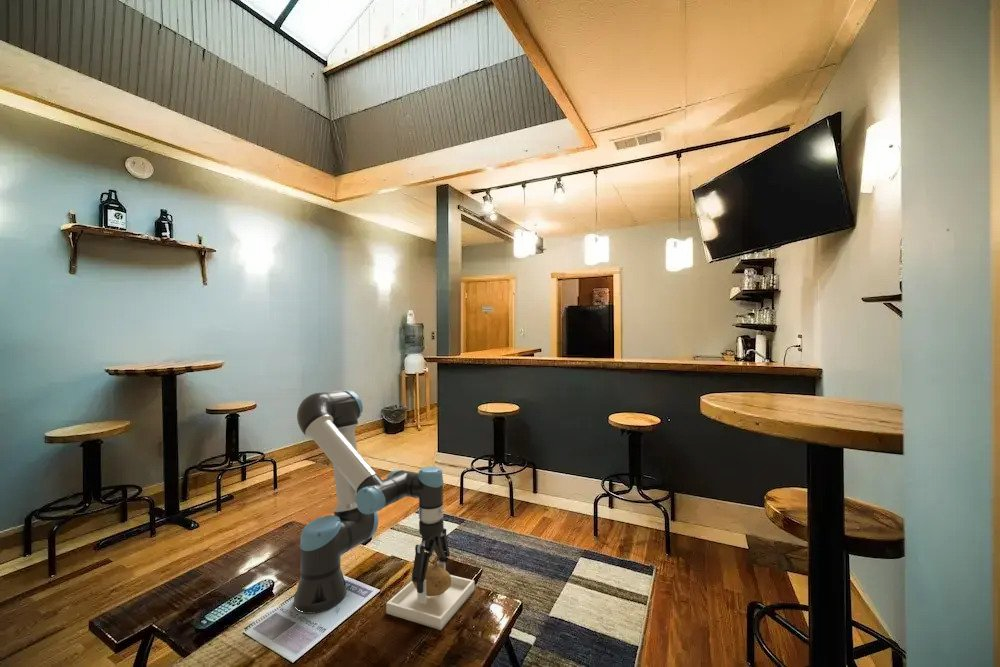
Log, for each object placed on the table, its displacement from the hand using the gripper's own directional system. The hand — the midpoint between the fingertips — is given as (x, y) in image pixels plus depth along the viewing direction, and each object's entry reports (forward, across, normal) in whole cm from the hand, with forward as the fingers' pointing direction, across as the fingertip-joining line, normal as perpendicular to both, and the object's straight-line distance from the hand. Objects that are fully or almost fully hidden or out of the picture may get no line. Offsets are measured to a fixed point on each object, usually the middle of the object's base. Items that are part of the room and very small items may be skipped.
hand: (432, 592), depth 122 cm
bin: (+3, 0, 0) cm, 3 cm away
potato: (0, 0, 0) cm, 0 cm away
